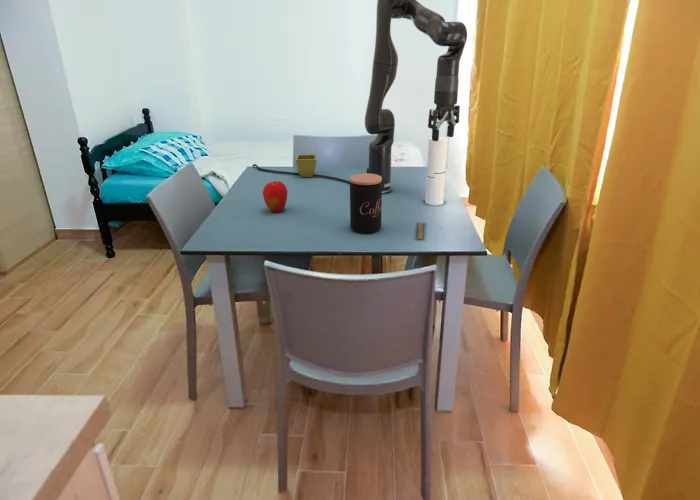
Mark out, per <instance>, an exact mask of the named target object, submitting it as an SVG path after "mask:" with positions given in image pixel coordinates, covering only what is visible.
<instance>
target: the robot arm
mask: <svg viewBox="0 0 700 500" xmlns="http://www.w3.org/2000/svg"><path fill="white" fill-rule="evenodd" d="M393 19H396V20H400V19H406V20H410V21H412V23H413V25H414V27H415V28H416V30H418V31H420V32H421V33H423V34H424V35H426V36H428V37H429V38H430V40H431V41H432V43H434V44H435V45H437V46H439V47H448V48H447V50H446V52H445V53H444V54H441V55H439V56H438V58H437V62H436V76H435V81H434V83H435V84H434V94H433V95H434V96H433V104H434V105H436V107H435V109H434V108H433V109H431V108H430V109H429V110H428V111H429V112H428V121H427V122H428V124H427V128H428V129H431V137H432V140H433V141H438V140H439V135H440V128H441V126H442V125H443V124H444V122H446V123H447V129H446V130H447V132H446V137H447V138H454V135H455V126H456V125H457V124H460V113H461V112H460V110H461V109H460V108H461V105H457V103H458V95H459V83H460V81H459V74H460V73H459V71H460V63H461V61H460V60H461V58H462V56H463V52H464V49H465V46H466V43H467V40H468V29H467V26H466V24H464V22H462V21H446V20H445V18H444V17H443V16H442V15H441V14H439V13H437V12H436V11H434V10H432V9H430V8H427V7H426V6H424V5H422V4H421V2H419V1H418V0H377V2H376V21H375V22H376V23H375V24H376V25H375V27H376V28H375V42H374V51H373V52H374V53H373V60H372V67H371V68H372V69H371V79H370V87H369V95H368V100H367V105H366V110H365V113H364V114H365V115H364V127H365V130H366V132H367V133H368V134H369V135H376V136H375V138H374V139H372V140H371V141H370V142H369V144H368V167H367V168H366V173H369V174H376V175H379V176H381V177H382V181H381V182H380V183H381V185H382V194H387V193H390V192H391V191H392V188H391V186H392V181H391V180H392V146H393V144H394V139H395V127H396V126H395V125H396V121H395V115H394V113H393V111H391V109H388V108H383V104H384V100H385V98H386V96H387V94H388V92H389V90H390V89H391V87H392V86H393V84H394V82H395V80H396V78H397V72H398V63H399V55H398V52H397V49H396V47H395V43H394V42H393V39H392V35H391V24H392V20H393ZM251 167H252V168H256V169H257V170H259V171H262V172H269V173H277V174H284V175H285V174H286V175H298V176H300V174H299V172H294V171H283V170H273V169H268V168H267V169H266V168H261V167H259V165H257V164H256V163H253V164H252V166H251ZM312 177H319V178H325V179H330V180H336V181H340V182H344V183H347V184H349V185H350V184H351V182H350V180H347V179H343V178H339V177H335V176H330V175H323V174H316V173H314V174H313V176H312Z"/></svg>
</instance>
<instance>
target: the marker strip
mask: <svg viewBox="0 0 700 500" xmlns="http://www.w3.org/2000/svg"><path fill="white" fill-rule="evenodd" d="M423 235H424V222H418V228H417V237H416V239H417V240H420V241H421V240H422V241H423Z"/></svg>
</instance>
